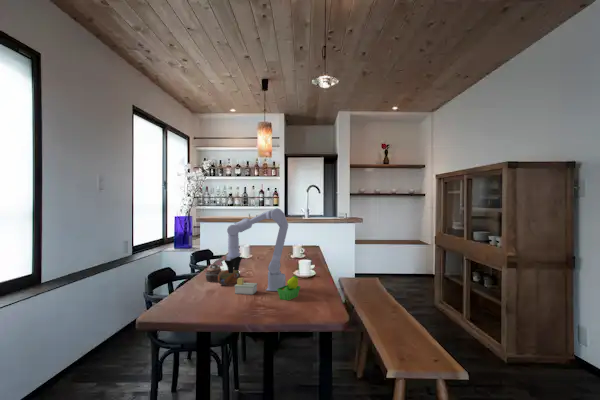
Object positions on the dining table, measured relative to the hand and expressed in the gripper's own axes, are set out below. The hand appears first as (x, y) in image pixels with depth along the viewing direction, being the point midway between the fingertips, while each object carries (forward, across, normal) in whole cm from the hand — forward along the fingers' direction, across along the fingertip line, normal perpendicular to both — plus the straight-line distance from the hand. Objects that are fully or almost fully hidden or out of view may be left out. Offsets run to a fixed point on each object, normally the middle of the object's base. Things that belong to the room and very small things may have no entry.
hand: (233, 271), depth 194 cm
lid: (+6, +4, +9) cm, 12 cm away
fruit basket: (+10, +9, +34) cm, 36 cm away
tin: (+10, -12, -9) cm, 18 cm away
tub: (+10, +4, +9) cm, 14 cm away
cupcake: (+10, -17, -21) cm, 29 cm away
